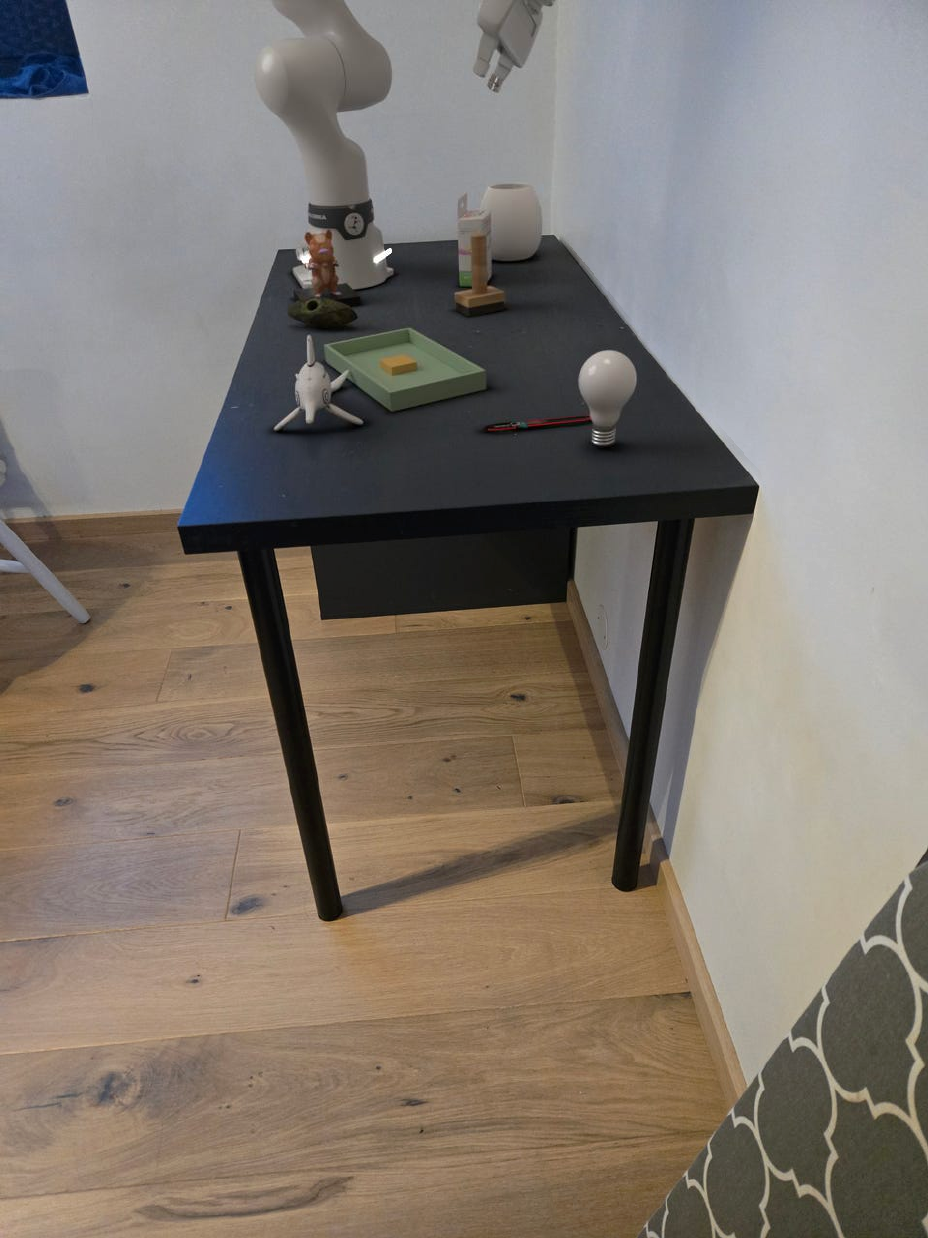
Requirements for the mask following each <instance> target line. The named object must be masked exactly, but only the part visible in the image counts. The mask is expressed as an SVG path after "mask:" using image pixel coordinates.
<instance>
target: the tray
mask: <svg viewBox="0 0 928 1238" xmlns="http://www.w3.org/2000/svg"><path fill="white" fill-rule="evenodd" d="M323 350H324V357H325V363H326V364H328V365H329V366H331V367H332V368H333V369H334V370H336V371H337V372H339V374H341V375H342V374H343V373H344V372H345V371H347V370H349V373H348V376H347V377H346V379H348V380H349V381H350V382H352V383H353V384H354V385H355V386H356V387H358V388H359V389H361V390H362V391H363V392H365V393H366V394H367V395H369V396H370V397H372V398H373V399H374V400H376V401H377V402H378V403H379V404H381V405H382V406H383V407H385V408H386V409H387V410H389V411H390V412H391V413H392V412H397V411H400V410H405V409H409V408H414V407H418V406H421V405H425V404H430V403H434V402H438V401H442V400H446V399H447V400H448V399H451V398H455V397H459V396H463V395H467V394H472V393H475V392H479V391H484V390H486V389H487V370H486V369H484V368H483V367H480V366H479V365H477V364H475V362H472V361H470V360H469V359H467V358H465V357H463V356H461V355H459V354H458V353H456V352H454V351H452V350H451V349H448V348H447V347H445V346H444V345H441V344H440V343H438V342H437V341H435V340H434V339H431V338H429V337H428V336H426V335H424V334H422V333H421V332H418V331H417V330H415V329H414V328H412V327H405V328H401V329H394V330H390V331H385V332H381V333H376V334H375V333H374V334H370V335H366V336H365V335H364V336H360V337H356V338H351V339H345V340H339V341H336V342H331V343H326V344H323ZM403 354H405V355H407V356H408V357H410V358H411V359H413V360H415V361H416V362H417V370H414V371H410V372H406V373H401V374H397V375H391V374H389V373H388V372H386V371H385V370H384V369H382V368H381V366H380V359H385V358H389V357H394V356H399V355H403Z"/></svg>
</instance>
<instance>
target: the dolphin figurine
mask: <svg viewBox="0 0 928 1238" xmlns="http://www.w3.org/2000/svg"><path fill="white" fill-rule="evenodd" d="M306 358H307V359H306V361H307V362H306V363H305V364H304V365H303V366H302V367H301V369H300V371H299V373H295V375H294V376H295V378H296V382H295V385H294V394H295V395H294V396H295V401H296V404H297V407H296V408H295V409H294V410H293V411H292V412H290V413H289V414H288V415H287V416H286V417H284V418H283V419H282V420H281V421H280V422H278V424H276V425H275V426H274V427H273V430H274V432H279V431H280V430H282V429H283V428H285V427H287V425H289V424H290V423H292V422H293V421H295V420H296V419H298V418H299V417H300V416H301V415H302V414H304V413H305V422H306V424H307V425H313V424H314V421H315V416H316V414H317V412H318V411H320V410H322V409H324V410H326V411H327V412H328V413H330V414H332V415H333V416H336V417H338V418H340V419H342V420H343V421H347V422H349V423H352V424H355V425H358V426H361V425H363V424H364V420H362V419H361V418H359V417H357V416H355V415H353V414H351V413H350V412H347V411H345V410H344V409H341V408H340V407H338V406H336V405H335V404H332V403H331V399H332V393H334V392H337V391H338V390H339V389H340V388H341V386H342V385H343V384H344V383H345V381H346V379H347V378H346V377H347V376H348V373H349V370H347V371H345V372H344V373H343V374H341V375H339V376H338V377H337V378H335V379H334V380H333V381H331V378H330V375H329V374H328V372H327V371H326V369H325V366H324V365H323V364H321V363H320V362H318V361H316V356H315V350H314V343H313V337H312V335H311V334H308V335H307V337H306Z"/></svg>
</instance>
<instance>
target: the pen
mask: <svg viewBox="0 0 928 1238" xmlns="http://www.w3.org/2000/svg"><path fill="white" fill-rule="evenodd" d="M588 420H591V417H590V415H587V414H585V415H584V414H582V415H581V414H579V415H573V416H572V415H571V416H562V417H561V416H560V417H552V418H543V419H535V420H534V419H533V420H522V421H515V422H513V421H508V422H496V423H491V424H487V425H484V427H481V430H484V431H486V432H500V431H508V430H509V431H510V430H515V429H521V428H526V429H527V428H529V427H535V426H546V425H554V424H564V423H572V422H574V423H575V422H582V421H588Z"/></svg>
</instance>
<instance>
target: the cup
mask: <svg viewBox="0 0 928 1238" xmlns="http://www.w3.org/2000/svg"><path fill="white" fill-rule="evenodd" d="M534 189H535V188H534V187H533V186H532V184H530V183H526V182H520V181H519V182H518V181H516V182H515V181H513V182H512V181H511V182H498V183H493V184H489V186H487V187H486V190H485V192H484V195H483V196H482V199H481V202H480V205H479V209H478V210H491V260H494V261H501V262H517V261H522V260H526V259H530V258H531V257H533V255H535V254H536V252H537V251H538V249H539V248H540V247H539V246H540V244H541V241H542V238H543V215H542V214H543V213H542V206H541V203H540V200H539V197H538V195H537V193H536V191H535V190H534Z"/></svg>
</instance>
